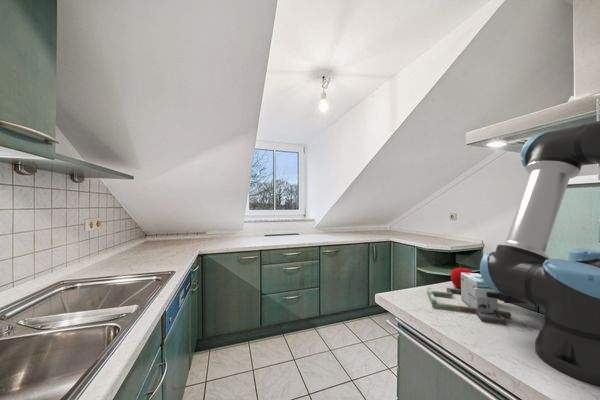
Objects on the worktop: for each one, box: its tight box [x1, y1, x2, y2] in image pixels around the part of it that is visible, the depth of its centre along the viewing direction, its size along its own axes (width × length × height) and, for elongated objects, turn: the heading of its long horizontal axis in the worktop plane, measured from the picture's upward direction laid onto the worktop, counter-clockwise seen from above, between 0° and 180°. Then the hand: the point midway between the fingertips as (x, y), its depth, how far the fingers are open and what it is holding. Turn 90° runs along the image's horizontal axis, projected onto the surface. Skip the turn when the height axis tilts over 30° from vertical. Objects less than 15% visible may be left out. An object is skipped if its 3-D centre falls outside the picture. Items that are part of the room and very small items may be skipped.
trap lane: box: [426, 287, 512, 326], centre depth 87 cm, size 25×23×2 cm
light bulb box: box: [460, 272, 499, 314], centre depth 86 cm, size 11×7×11 cm, turn 172°
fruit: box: [450, 264, 474, 289], centre depth 104 cm, size 9×9×10 cm
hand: (468, 286), depth 87 cm, fingers closed on light bulb box, 11 cm apart
